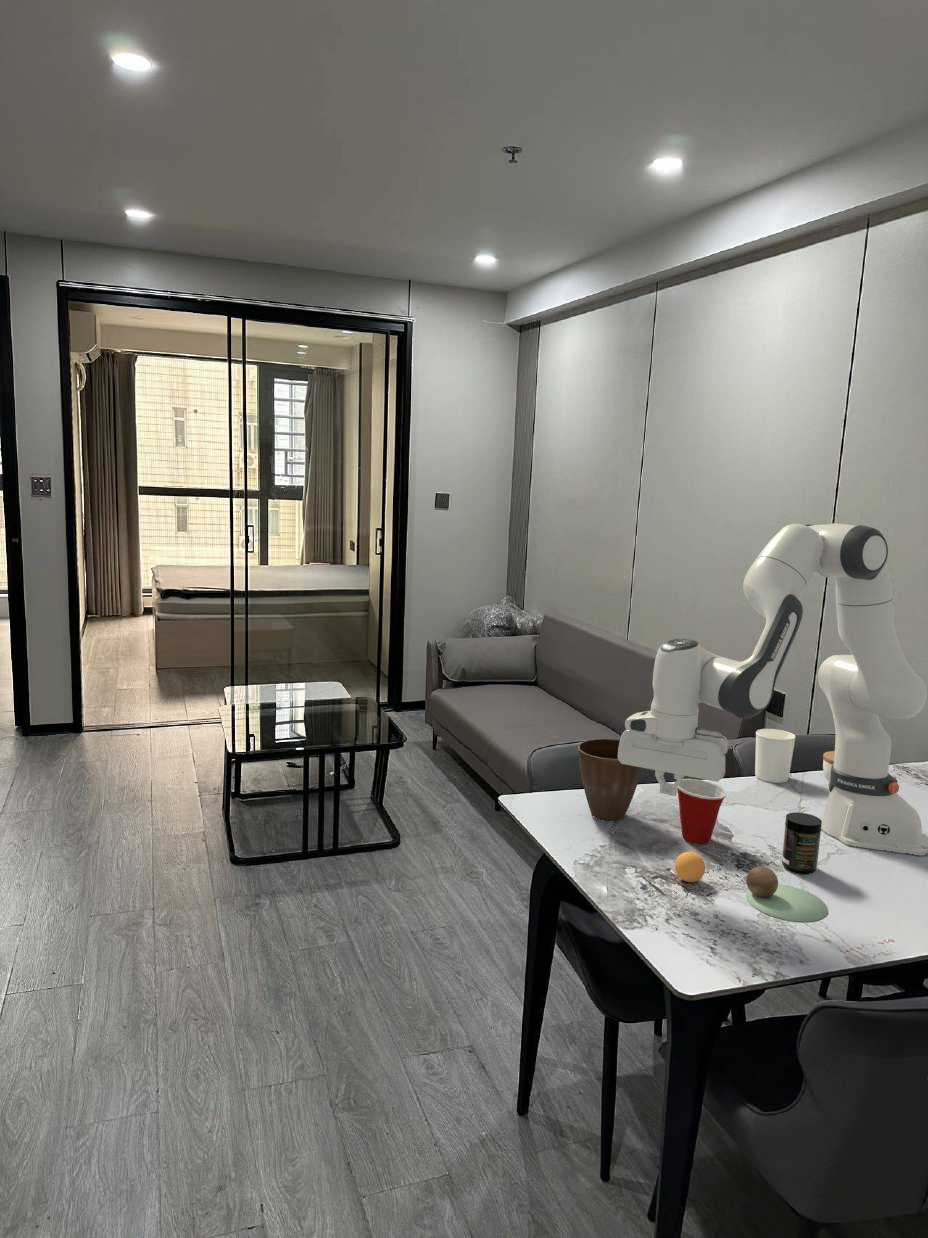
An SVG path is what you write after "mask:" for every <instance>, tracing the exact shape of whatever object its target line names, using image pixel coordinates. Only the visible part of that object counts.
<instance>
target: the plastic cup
mask: <svg viewBox="0 0 928 1238" xmlns="http://www.w3.org/2000/svg"><path fill="white" fill-rule="evenodd" d="M727 796H728V791H727V790H726V789H725V788H724V787H722V786H720V785H718V784H715V783H713V782H712V781H708V780H704V779H698V778H683V779H682V781H681V782H680V783H679V784H678V786H677V798H678V806H679V807H678V808H679V816H680V817H679V820H680V821H679V823H680V825H681V835H682V839H683V840H684V841H685V842H687V843H690V844H693V845H708V844H710V841H711V840H712V836H713V831H714V829H715V826H716V822H717V819H718V816H719V812H720V809H721V806H722V803H723V801H724V799H726V798H727Z"/></svg>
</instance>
